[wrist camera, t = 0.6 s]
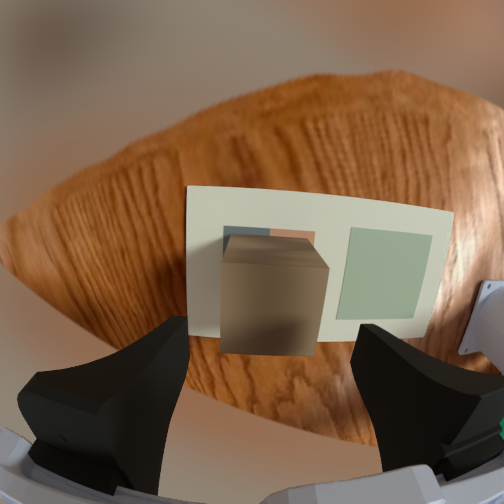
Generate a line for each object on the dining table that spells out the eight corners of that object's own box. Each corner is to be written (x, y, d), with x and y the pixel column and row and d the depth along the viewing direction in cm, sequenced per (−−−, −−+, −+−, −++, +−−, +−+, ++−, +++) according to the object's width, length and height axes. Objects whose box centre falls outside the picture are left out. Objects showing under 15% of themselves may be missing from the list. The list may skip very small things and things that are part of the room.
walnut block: (307, 238, 19) (329, 268, 13) (298, 306, 20) (313, 355, 15) (231, 233, 19) (221, 262, 13) (228, 303, 20) (219, 352, 15)
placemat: (452, 212, 19) (454, 212, 18) (423, 335, 22) (424, 337, 21) (187, 185, 18) (187, 185, 18) (188, 333, 21) (188, 335, 21)
